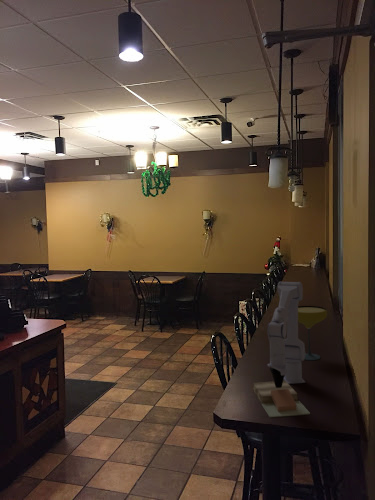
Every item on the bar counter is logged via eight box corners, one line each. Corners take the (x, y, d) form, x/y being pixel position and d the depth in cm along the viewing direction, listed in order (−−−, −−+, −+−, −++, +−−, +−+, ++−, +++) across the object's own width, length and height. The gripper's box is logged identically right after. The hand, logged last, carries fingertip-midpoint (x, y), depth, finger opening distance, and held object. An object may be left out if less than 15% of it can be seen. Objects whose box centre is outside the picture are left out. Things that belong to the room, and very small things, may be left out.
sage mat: (261, 404, 160) (261, 403, 160) (299, 401, 161) (299, 400, 161) (269, 417, 149) (269, 416, 149) (310, 414, 150) (310, 413, 150)
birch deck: (253, 390, 174) (252, 383, 174) (285, 387, 176) (285, 380, 175) (262, 404, 160) (262, 396, 160) (297, 401, 162) (297, 393, 161)
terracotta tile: (270, 394, 161) (270, 390, 160) (288, 393, 162) (288, 389, 161) (277, 411, 153) (278, 406, 152) (296, 409, 153) (296, 405, 153)
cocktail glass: (284, 358, 214) (283, 310, 212) (302, 349, 226) (301, 304, 225) (317, 365, 201) (316, 314, 199) (334, 356, 214) (333, 308, 212)
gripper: (262, 348, 168) (263, 380, 169) (273, 359, 154) (274, 395, 154) (279, 346, 169) (280, 379, 170) (291, 358, 154) (292, 393, 155)
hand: (278, 387), depth 162 cm, fingers closed
